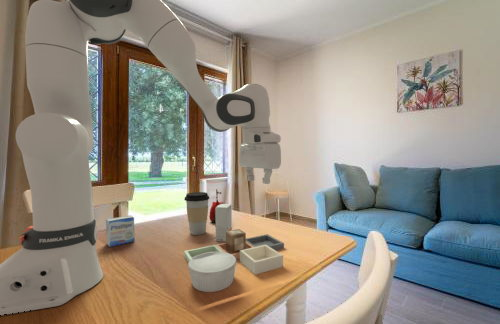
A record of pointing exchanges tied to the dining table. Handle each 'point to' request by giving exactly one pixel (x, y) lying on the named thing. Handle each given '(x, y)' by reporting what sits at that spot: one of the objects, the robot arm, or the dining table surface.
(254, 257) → the cream square open box
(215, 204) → the red clay folk toy
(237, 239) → the tan block
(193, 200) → the coffee cup
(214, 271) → the ramekin
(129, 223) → the medicine box
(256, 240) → the tray far charcoal
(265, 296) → the dining table surface
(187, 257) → the tray near sage
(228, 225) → the skincare box
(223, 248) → the tray middle terracotta
